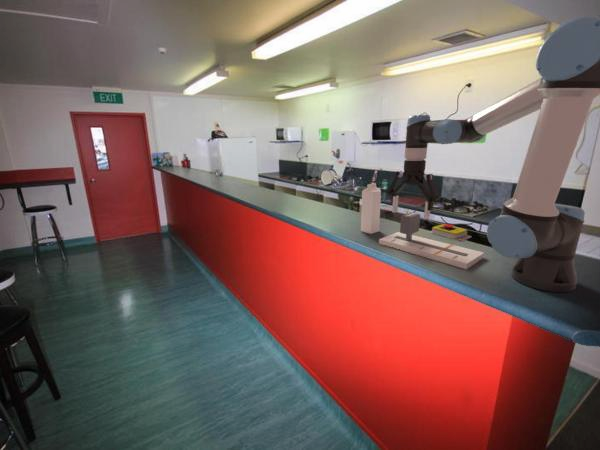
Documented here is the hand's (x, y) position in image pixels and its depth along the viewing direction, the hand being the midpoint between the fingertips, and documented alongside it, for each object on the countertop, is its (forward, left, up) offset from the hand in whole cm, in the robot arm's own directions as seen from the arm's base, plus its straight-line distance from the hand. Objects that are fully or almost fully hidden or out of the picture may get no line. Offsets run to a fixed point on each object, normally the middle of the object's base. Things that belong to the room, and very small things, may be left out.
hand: (410, 215), depth 118 cm
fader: (0, 0, -10) cm, 10 cm away
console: (-8, 0, -12) cm, 15 cm away
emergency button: (-5, -24, -13) cm, 28 cm away
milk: (+22, -4, -13) cm, 25 cm away
